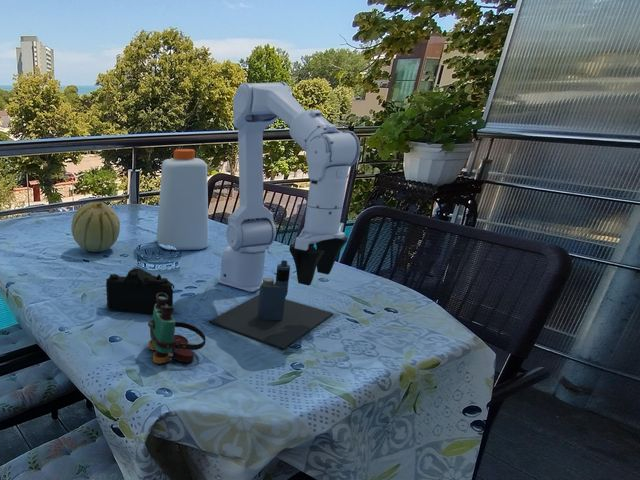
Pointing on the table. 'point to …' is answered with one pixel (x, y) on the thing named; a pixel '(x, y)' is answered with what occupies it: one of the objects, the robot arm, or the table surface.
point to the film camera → (136, 291)
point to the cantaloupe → (95, 227)
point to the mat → (272, 322)
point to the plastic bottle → (183, 202)
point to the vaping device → (274, 294)
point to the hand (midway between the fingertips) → (314, 278)
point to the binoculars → (170, 334)
